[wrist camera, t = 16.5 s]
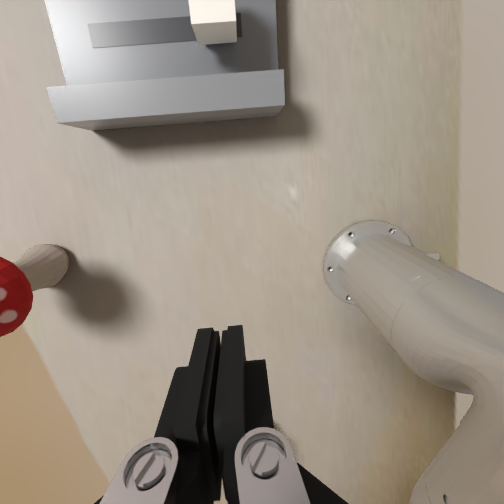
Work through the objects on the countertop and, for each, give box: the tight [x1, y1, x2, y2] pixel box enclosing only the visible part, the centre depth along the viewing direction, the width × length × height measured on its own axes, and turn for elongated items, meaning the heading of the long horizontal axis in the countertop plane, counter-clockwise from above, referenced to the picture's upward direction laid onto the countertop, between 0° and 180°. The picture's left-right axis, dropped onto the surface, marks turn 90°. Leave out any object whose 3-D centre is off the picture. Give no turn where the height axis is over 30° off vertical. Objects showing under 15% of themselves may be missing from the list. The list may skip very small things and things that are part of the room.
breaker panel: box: [45, 0, 285, 131], centre depth 26 cm, size 22×16×6 cm
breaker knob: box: [188, 0, 237, 45], centre depth 24 cm, size 4×4×6 cm
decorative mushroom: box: [0, 244, 69, 337], centre depth 30 cm, size 10×9×15 cm
